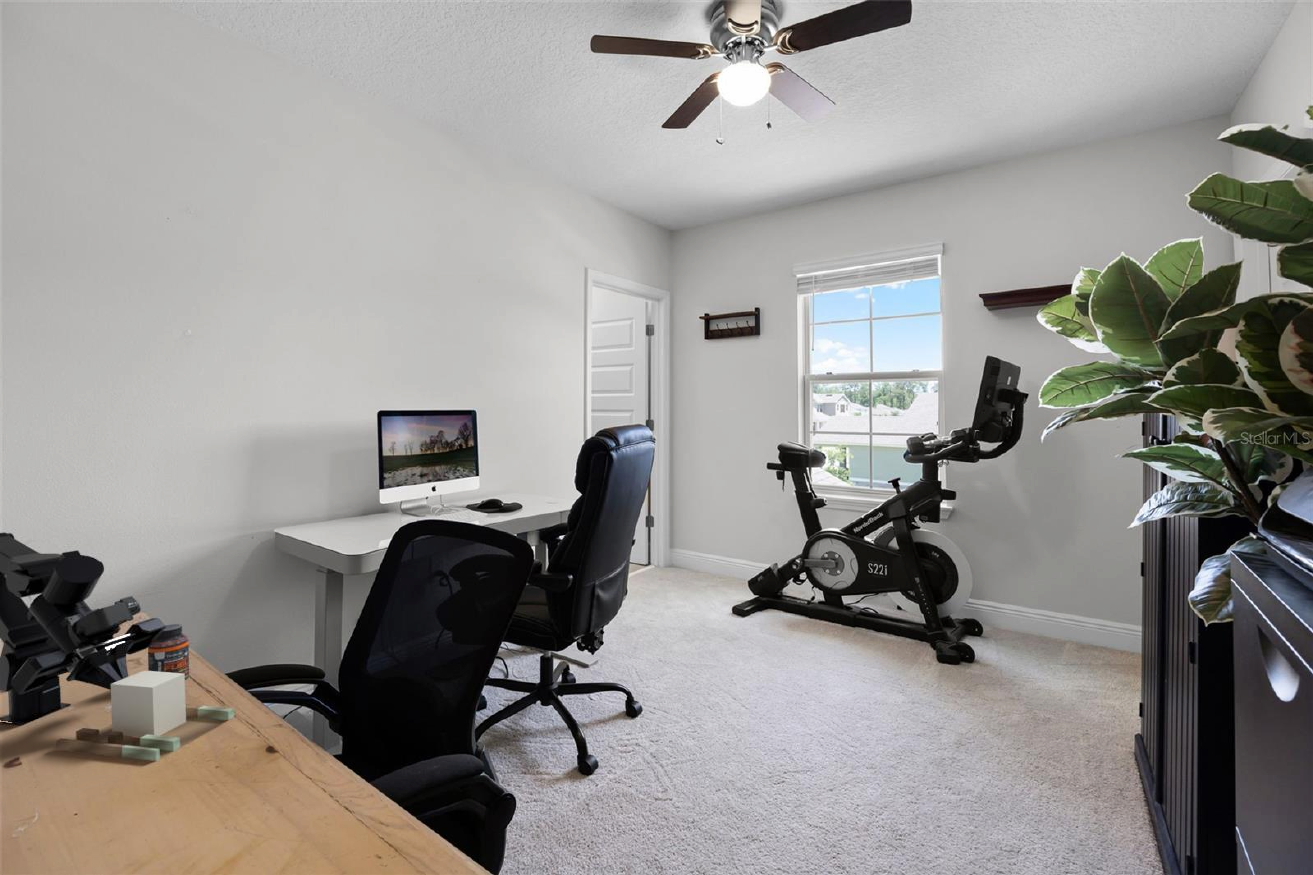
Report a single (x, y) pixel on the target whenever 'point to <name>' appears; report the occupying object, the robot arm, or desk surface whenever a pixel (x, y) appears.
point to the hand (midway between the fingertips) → (126, 690)
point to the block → (148, 703)
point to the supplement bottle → (170, 651)
